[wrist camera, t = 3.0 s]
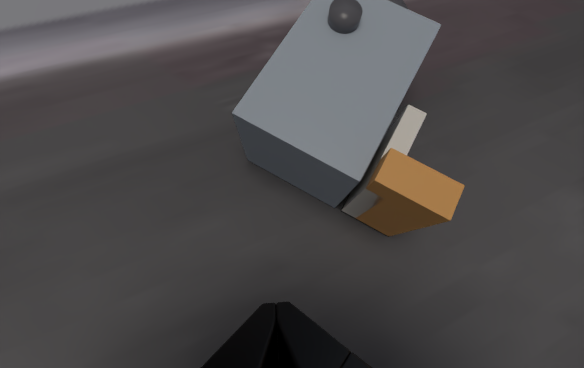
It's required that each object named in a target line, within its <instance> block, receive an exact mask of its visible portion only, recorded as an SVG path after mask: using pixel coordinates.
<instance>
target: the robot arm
mask: <svg viewBox="0 0 584 368" xmlns="http://www.w3.org/2000/svg"><path fill="white" fill-rule="evenodd" d="M276 315H277V317H276ZM277 335H278V337H277ZM278 355H279V359H278ZM201 368H372V367H371V366H369V365H368V364H367V363H365V362H364V361H363V360H361V359H360V358H359V357H358V356H356V355H355V354H354V353H351V351H349V350H348V349H347V348H346V347H344V346H343V345H342V344H341V343H340V342H338V341H337V340H336V339H335V338H333V337H332V336H331V335H330V334H328V333H327V332H326V331H325V330H323V329H322V328H321V327H320V326H319V325H317V324H316V323H315V322H314V321H312V320H311V319H310V318H309V317H307V316H306V315H305V314H304V313H302V312H301V311H300V310H299V309H298V308H296V307H295V306H294V305H293V304H291V303H290V302H278V303H277V304H275V303H266V304H262V305H261V306H260V307H259V308H258V309H257V310H256V311H255V312H254V313H253V314H252V315H251V316H250V317H249V318H248V319H247V320H246V322H245V323H244V324H243V325H242V326H241V327H240V328H239V329H238V330H237V331H236V332H235V333H234V334H233V335H232V336H231V337H230V338H229V339H228V340H227V341H226V342H225V343H224V344H223V345H222V346H221V347H220V348H219V350H218V351H217V352H216V353H215V354H214V355H213V356H212V357H211V358H210V359H209V360H208V361H207V362H206V363H205V364H204V365H203V366H202V367H201Z"/></svg>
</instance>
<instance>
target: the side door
mask: <svg viewBox="0 0 584 368" xmlns="http://www.w3.org/2000/svg"><path fill="white" fill-rule="evenodd" d="M426 114H427V113H425V112H423V111H421V110H419V109H417V108H414V107H412V106H410V105H408V106H407V107H406V108H405V109H404V111H403V112H402V113H401V115H400V116H399V117H398V118H397V120H396V121H395V122H394V123H393V125H392V126H391V127H390V128H389V130H388V131H387V132H386V134H385V136H384V138H383V140H382V141H381V143H380V145H379V147H378V149H377V151H376V153H375V155H374V157H373V159H372V161H371V163H370V165H369V167H368V168H367V170H366V172H365V174H364V176H363V178H362V180H361V181H360V182H359V183H358V184H357V186H356V187H355V188H354V189H353V190H352V191H351V193H350V195H349V197H348V199H347V201H346V203H345V205H344V206H343V208H342V210H341V211H343V212H345V213H347V214H349V215H351V216H352V217H354V218H356V219H358V220H360V221H361V222H363V223H365V224H367V225H369V226H370V227H372V228H374V229H376V230H378V231H379V232H381V233H383V234H385V235H387V236H388V237H389V236H393V235H397V234H400V233H404V232H408V231H412V230H416V229H420V228H424V227H428V226H432V225H435V224H439V223H443V222H447V221H450V220H451V218H452V216H453V213H454V211H455V208H456V206H457V203H458V201H459V198H460V196H461V193H462V191H463V189H464V186H465V185H463V184H461V183H459V182H457V181H455V180H453V179H451V178H449V177H447V176H445V175H443V174H441V173H439V172H437V171H436V170H434V169H432V168H430V167H428V166H426V165H424V164H422V163H420V162H418V161H416V160H414V159H412V158H410V157H408V156H407V154H408V152H409V150H410V148H411V145H412V143H413V141H414V139H415V137H416V135H417V133H418V131H419V129H420V127H421V125H422V123H423V121H424V119H425V117H426Z"/></svg>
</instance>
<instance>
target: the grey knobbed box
mask: <svg viewBox="0 0 584 368" xmlns="http://www.w3.org/2000/svg"><path fill="white" fill-rule="evenodd" d="M440 26H441V24H439V23H437V22H435V21H432V20H430V19H428V18H426V17H424V16H421V15H419V14H417V13H415V12H413V11H410V10H408V8H407V6H406V4H405V3H404V2H403V0H311V2H310V3H309V4H308V6H307V7H306V9H305V10H304V12H303V13H302V14H301V16H300V17H299V19H298V20H297V21H296V23H295V24H294V26H293V27H292V28H291V30H290V31H289V33H288V34H287V36H286V37H285V38H284V40H283V41H282V43H281V44H280V45H279V47H278V48H277V50H276V51H275V53H274V54H273V55H272V57H271V58H270V60H269V61H268V62H267V64H266V65H265V67H264V68H263V69H262V71H261V72H260V74H259V75H258V77H257V78H256V79H255V81H254V82H253V84H252V85H251V86H250V88H249V89H248V91H247V92H246V94H245V95H244V96H243V98H242V99H241V101H240V102H239V103H238V105H237V106H236V108H235V109H234V110H233V112H232V115H233V118H234V121H235V124H236V127H237V130H238V133H239V136H240V139H241V142H242V145H243V148H244V151H245V154H246V157H247V159H248V160H249V161H250V162H252V163H254V164H256V165H258V166H259V167H261V168H263V169H265V170H267V171H268V172H270V173H272V174H274V175H276V176H277V177H279V178H281V179H283V180H285V181H286V182H288V183H290V184H292V185H294V186H295V187H297V188H299V189H301V190H303V191H305V192H306V193H308V194H310V195H312V196H314V197H315V198H317V199H319V200H321V201H323V202H324V203H326V204H328V205H330V206H332V207H333V208H335V207H336V206H337V205H338V204H339V203H340V202H341V201H342V200H343V199H344V198H345V197H346V196H347V195H348V194H349V193H350V192H351V191H352V190H353V189H354V188H355V187H356V186H357V184H358V183H359V182H360V181H361V180H362V178H363V176H364V174H365V172H366V170H367V168H368V167H369V165H370V163H371V161H372V159H373V157H374V155H375V153H376V151H377V149H378V147H379V145H380V143H381V141H382V140H383V138H384V136H385V134H386V132H387V130H388V128H389V126H390V124H391V122H392V120H393V118H394V116H395V115H396V111H397V109H398V107H399V105H400V103H401V101H402V99H403V97H404V95H405V94H406V92H407V90H408V88H409V86H410V84H411V82H412V80H413V78H414V76H415V74H416V72H417V70H418V69H419V67H420V65H421V63H422V61H423V59H424V57H425V55H426V53H427V51H428V49H429V47H430V46H431V44H432V42H433V40H434V38H435V36H436V34H437V32H438V30H439V28H440Z"/></svg>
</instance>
